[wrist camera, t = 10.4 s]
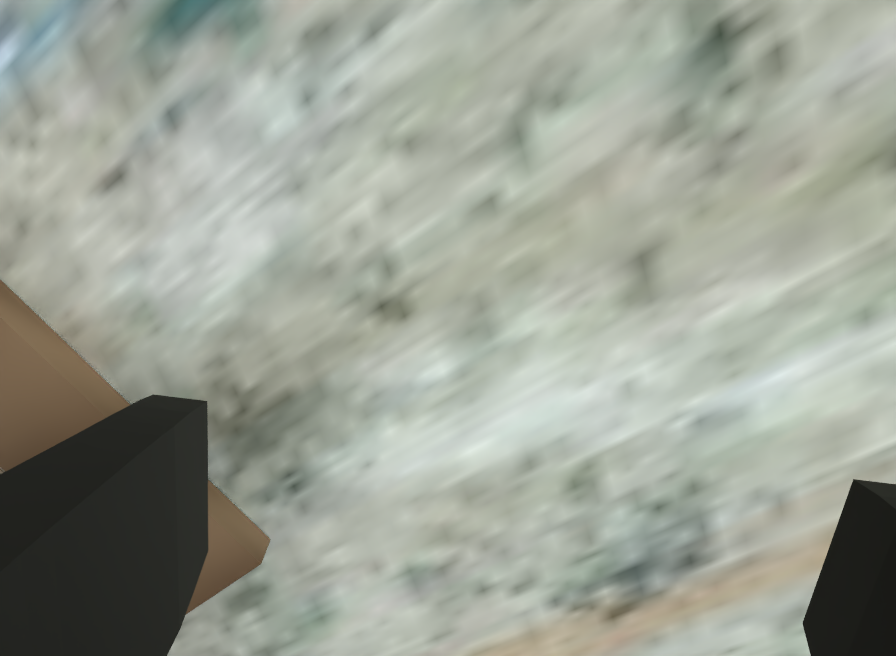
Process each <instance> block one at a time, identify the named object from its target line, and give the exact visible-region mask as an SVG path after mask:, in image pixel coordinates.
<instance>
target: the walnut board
mask: <svg viewBox="0 0 896 656" xmlns="http://www.w3.org/2000/svg"><path fill="white" fill-rule="evenodd" d="M128 406H130V404H129V403H128V402H127V401H126V400H125V399H124V398H123V397H122V396H121V395H120V394H119V393H118V392H117V391H116V390H114V389H113V388H112V387H111V386H110V385H109V384H108V383H107V382H106V381H105V380H104V379H103V378H102V377H101V376H100V375H99V374H98V373H97V372H96V371H95V370H94V369H93V368H92V367H91V366H90V365H88V364H87V363H86V362H85V361H84V360H83V359H82V358H81V357H80V356H79V355H78V354H77V353H76V352H75V351H74V350H73V349H72V348H71V347H70V346H69V345H68V344H67V343H66V342H65V341H64V340H62V339H61V338H60V337H59V336H58V335H57V334H56V333H55V332H54V331H53V330H52V329H51V328H50V327H49V326H48V325H47V324H46V323H45V322H44V321H43V320H42V319H41V318H40V317H39V316H38V315H36V314H35V313H34V312H33V311H32V310H31V309H30V308H29V307H28V306H27V305H26V304H25V303H24V302H23V301H22V300H21V299H20V298H19V297H18V296H17V295H16V294H15V293H14V292H13V291H12V290H10V289H9V288H8V287H7V286H6V285H5V284H4V283H3V282H2V281H1V280H0V467H1V468H3V469H4V470H5V471H8V470H9V469H11V468H13V467H15V466H17V465H19V464H21V463H23V462H24V461H26V460H28V459H30V458H32V457H34V456H36V455H38V454H40V453H41V452H43V451H45V450H47V449H49V448H51V447H53V446H55V445H56V444H58V443H60V442H62V441H64V440H66V439H68V438H70V437H71V436H73V435H75V434H77V433H79V432H81V431H83V430H84V429H86V428H88V427H90V426H92V425H94V424H95V423H97V422H99V421H101V420H103V419H105V418H107V417H108V416H110V415H112V414H114V413H116V412H118V411H120V410H122V409H124V408H126V407H128ZM269 542H270V539H269V538H268V537H267V536H266V535H265V534H264V533H263V532H262V531H261V530H260V529H259V528H258V527H257V526H256V525H255V524H254V523H253V522H252V521H251V520H250V519H249V518H248V517H247V516H246V515H244V514H243V513H242V512H241V511H240V510H239V509H238V508H237V507H236V506H235V505H234V504H233V503H232V502H231V501H230V500H229V499H228V498H227V497H226V496H225V495H224V494H223V493H222V492H221V491H220V490H218V489H217V488H216V487H215V486H214V485H213V484H212V483H211V482H210V481H209V480H208V553H207V556H206V559H205V562H204V564H203V567H202V570H201V573H200V576H199V579H198V582H197V584H196V587H195V590H194V593H193V596H192V598H191V601H190V604H189V606H188V609H187V612H186V614H187V613H189V612H190V611H192V610H193V609H195V608H196V607H198V606H199V605H201V604H202V603H204V602H205V601H207V600H208V599H210V598H211V597H213V596H214V595H216V594H217V593H218V592H220V591H221V590H223V589H224V588H226V587H227V586H229V585H230V584H232V583H233V582H235V581H236V580H238V579H239V578H241V577H242V576H244V575H245V574H247V573H248V572H250V571H251V570H253V569H254V568H256V567H257V566H259V565H260V564H261V563H262V560H263V558H264V555H265V553H266V550H267V547H268V545H269ZM186 614H185V615H186Z"/></svg>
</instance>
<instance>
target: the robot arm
mask: <svg viewBox="0 0 896 656" xmlns="http://www.w3.org/2000/svg"><path fill="white" fill-rule="evenodd" d="M207 553H208V436H207V401H201V400H193V399H185V398H176V397H168V396H160V395H151V396H149V397H147V398H144V399H142V400H140V401H138V402H136V403H134V404H132V405H130V406H128V407H126V408H124V409H122V410H120V411H118V412H116V413H114V414H112V415H110V416H108V417H107V418H105V419H103V420H101V421H99V422H97V423H95V424H94V425H92V426H90V427H88V428H86V429H84V430H83V431H81V432H79V433H77V434H75V435H73V436H71V437H70V438H68V439H66V440H64V441H62V442H60V443H58V444H56V445H55V446H53V447H51V448H49V449H47V450H45V451H43V452H41V453H40V454H38V455H36V456H34V457H32V458H30V459H28V460H26V461H24V462H23V463H21V464H19V465H17V466H15V467H13V468H11V469H9V470H8V471H6V472H4V473H2V474H0V656H167V654H168V652H169V650H170V648H171V646H172V644H173V642H174V640H175V638H176V636H177V634H178V632H179V630H180V628H181V625H182V622H183V620H184V617H185V614H186V612H187V609H188V606H189V604H190V601H191V598H192V596H193V593H194V590H195V587H196V584H197V582H198V579H199V576H200V573H201V570H202V567H203V564H204V562H205V559H206V556H207ZM803 626H804V630H805V634H806V638H807V642H808V646H809V650H810V654H811V656H896V484H888V483H879V482H871V481H863V480H855V479H853V482H852V485H851V488H850V491H849V494H848V496H847V499H846V502H845V505H844V508H843V511H842V513H841V516H840V519H839V522H838V525H837V527H836V530H835V533H834V536H833V539H832V542H831V544H830V547H829V550H828V553H827V556H826V559H825V561H824V564H823V567H822V570H821V573H820V575H819V578H818V581H817V584H816V587H815V590H814V592H813V595H812V598H811V601H810V604H809V606H808V609H807V612H806V615H805V618H804V621H803Z"/></svg>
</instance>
